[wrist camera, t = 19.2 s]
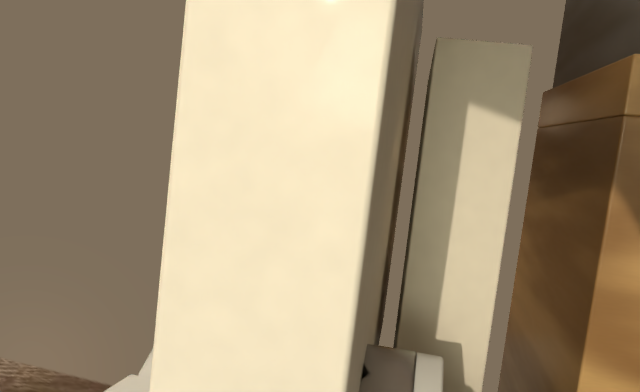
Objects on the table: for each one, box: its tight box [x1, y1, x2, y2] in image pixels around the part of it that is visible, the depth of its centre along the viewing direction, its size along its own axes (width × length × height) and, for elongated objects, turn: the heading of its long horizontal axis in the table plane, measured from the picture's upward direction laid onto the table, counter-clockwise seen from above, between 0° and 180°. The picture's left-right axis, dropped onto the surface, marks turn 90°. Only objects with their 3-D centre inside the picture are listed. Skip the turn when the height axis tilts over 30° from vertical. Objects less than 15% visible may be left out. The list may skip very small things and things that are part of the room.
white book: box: [149, 0, 424, 392], centre depth 16 cm, size 2×19×13 cm, turn 170°
